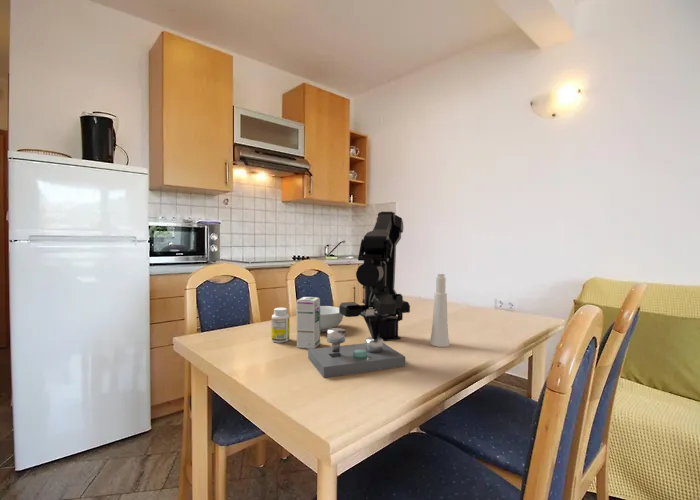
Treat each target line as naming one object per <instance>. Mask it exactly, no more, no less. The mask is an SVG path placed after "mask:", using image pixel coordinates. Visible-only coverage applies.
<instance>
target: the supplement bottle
mask: <svg viewBox="0 0 700 500" xmlns="http://www.w3.org/2000/svg"><path fill="white" fill-rule="evenodd" d="M289 340H290V315H289V313H288V308H286V307H276V308H274V309H273V314H272V315H271V341H272V342H273V343H275V344H276V343H278V344H279V343H280V344H281V343H286V342H288V341H289Z"/></svg>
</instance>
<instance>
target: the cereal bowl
mask: <svg viewBox="0 0 700 500" xmlns="http://www.w3.org/2000/svg"><path fill="white" fill-rule="evenodd" d="M295 315H296V318H297V309H296V310H295ZM343 318H344V315H342V314H341V313H339V306H338V307H337V306H331V305H320V333H321V332H327V330H328V329H330V328H336V327H337V326H338V325H340V324H341V323H342V321H343Z"/></svg>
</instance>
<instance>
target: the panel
mask: <svg viewBox="0 0 700 500" xmlns="http://www.w3.org/2000/svg"><path fill="white" fill-rule="evenodd" d="M354 350H365V351H367V350H366V342H363V343H355V344H346V345H340V352H337V353H335V352H332V346H328V347H316V348H315V349H307V355H308V356H307V359H308V360H309V361H310V362H311V363H312V365H313V366H314V368H315V369H316V370H317V372H319V374H320V375H321V376H322V378H331V377H337V376H345V375H346V376H347V375H352V374H358V373H359V374H360V373H366V372H374V371H379V370H380V371H381V370H387V369H394V368H402V367H406V356H405V355H404V354H402V353H400V352H399V351H397V350H396V349H394V348H392V347H391V346H389V345H387V344H386V343H384V342H383V351H381V352H377V353H371V352H369V351H367V358H364V359H357V358H354V357H353V351H354Z"/></svg>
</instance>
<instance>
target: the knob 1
mask: <svg viewBox="0 0 700 500" xmlns="http://www.w3.org/2000/svg"><path fill="white" fill-rule="evenodd" d="M326 333H327V334H326V336H327V337H326V341H327V343H329V344H332V345H331V347H332V352H335V353H337V352H340V346H341V344H343V343H345V342H346V329H344V328H341V327H333V328H330V329H328V330H327V331H326Z"/></svg>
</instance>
